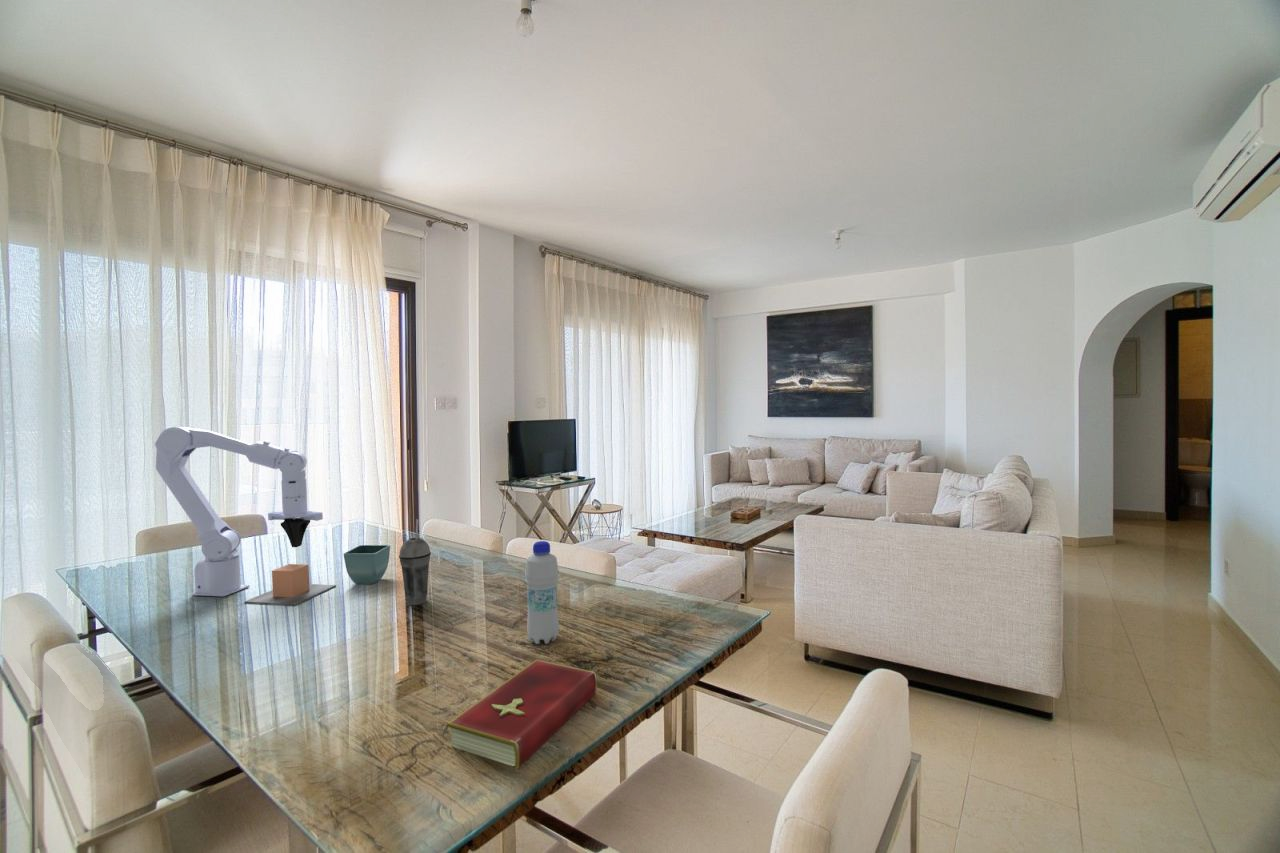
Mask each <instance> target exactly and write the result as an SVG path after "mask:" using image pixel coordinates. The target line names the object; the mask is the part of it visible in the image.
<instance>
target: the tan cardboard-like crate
mask: <svg viewBox="0 0 1280 853" xmlns="http://www.w3.org/2000/svg"><path fill="white" fill-rule="evenodd" d="M309 567H310V566H309V564H302V563H301V564H299V563H298V564H296V563H290V564H289V563H288V564H285V565H283V566H281V567H277V568H275V569H272V570H271V580H272V582H271V584H272V590H273V597H295V596H297V595H299V594H302V593H304V592H306V591H308V590H310V588H309V584H310V571H309V570H310V568H309Z"/></svg>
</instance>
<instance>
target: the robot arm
mask: <svg viewBox="0 0 1280 853" xmlns="http://www.w3.org/2000/svg"><path fill="white" fill-rule="evenodd" d="M154 446H155V448H156V458H155V469H156V471H157V473H158V474H159V476H160V477H161V479H162V480H163V481H164V483H165V484H166V487H167V488H168V489H169V491H170V492H171V494H172V495H173V496H174V498H175V499H176V500H177V502H178V504H179V505H180V506H181V508H182V509H183V511H184V512H185V514H186V515H187V517H188V519H190V521H191V523H192V524H193V525H194V527H195V529H196V530H197V539H198V541H199V542H200V543H201V544H200V545H201V553H202V554H203V556H204V557H203V558H201V559H199V561H197V563H196V564H195V566H194V572H193V573H194V589H195V590H194V592H192V594H191V595H192V596H203V597H204V596H206V597H226V596H228V595H231V594H234V593H237V592H239V591H242V590H244V589H248V588H249V587H250V584H242V580H241V562H240V561H241V560H240V552H239V551H238V550H237V548H239V546H240V544H241V540H242V539H241V538H242V537H241V535H240V533H239V532H238V531H237V530H235V529H233V528H231V526H229V525H228V523H227V522H225V521H224V520H223V519H221V518H220V517H219V515H218V514H217V512H216V511H215V509H214V508H213V506H212V505H211V503H210V501H209V500H208V499H207V497H206V495H205V494H204V492H203V491H202V490H201V488H200V487H199V485H198V484H197V482H196V481H195V480H194V477H192V475H191V473H190V472H189V470H188V469H187V468H186V464H187V462H188V460H189V458H190V456H191V454H192V453H193V452H194V451H195V450H196V449H200V448H206V447H212V448H215V449H218V450H219V449H220V450H222V451H227V452H231V453H235V454H239V455H242V456H245V457H246V458H247V459H248V462H249V463H253V464H256V465H260V466H262V467H265V468H271V469H274V470H279V471H280V472H281V503H282V504H281V505H282V511H271V512H268V513H267V518H268V519H267V520H268V521H277V520H279V521H283V522H280V527H281V528H282V529H283V530H284V532H285V533H286V535H287V537H288V540H289V542H290V546H291V548H298V547H300V546H301V547H302V544H303V540H304V536H305V534H306V533H305V532H306V531H307V529H308V527H309V525H310V523H311V521H315V522H316V521H317V522H318V521H321V520H323V519H324V517H323V512H322V511H321V512H320V511H312V510H308V492H307V491H308V490H307V478H306V475H307V474H306V469H305V468H306V466H307V461H308V460H307V458H306V456H305V455H304V454H303V453H301V452H299V451H297V450H292V451H290V448H288V447H285V448H283V447H279V446H275V445H273V444H271V442H270V441H267V440H264V441H263V442H262V441H256V442H254V443H250V442H249V443H248V442H246V441H243V440H239V439H236V438H234V437H230V436H228V435H224V434H222V433H219V432H215V431H213V430H208V429H204V428H200V427H199V428H196V427H193V426H189V425H185V426H184V425H183V426H179V427H177V426H176V427H175V426H174V427H173V426H172V427H167V428H166V429H164V430H163V431H162V432H161V433H160V434H159V436H158V437H157V439H156V441H155V442H154Z"/></svg>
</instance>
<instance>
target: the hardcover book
mask: <svg viewBox="0 0 1280 853" xmlns="http://www.w3.org/2000/svg"><path fill="white" fill-rule="evenodd" d="M597 692H598V678H597V674H596V672H595V671H593V670H587V669H584V668H579V667H574V666H569V665H564V664H560V663H555V662H551V661H546V660H543V659H542V660H541V659H535V660H533V661H532V662H531V663H529V664H528V665H526V666H525V667H523V668H522V669H521V670H519V671H518V672H516V673H515V674H514V675H513V676H511V677H510V678H508V679H507V680H505V681H504V682H502V683H501V684H500V685H499V686H497V687H496V688H494V689H492V690H491V691H490V692H489V693H487V694H486V695H485V696H483V697H482V698H480V699H479V700H478V701H476V702H475V703H474V704H471V706H469V707H468V708H466V709H465V710H464V711H462V712H461V713H460V714H458V715H457V716H455V717H454V718H452V719H451V720H449V721H448V722H447V723H446V727H448V728H450V730H451V732H450V734H451V735H450V736H451V747H452V748H455V749H456V750H457V749H458V750H461V751H463V752H466V753H470V754H473V755H475V756H480V757H483V758H485V759H489V760H491V761H496V762H498V763H500V764H504V765H507V766H510V765H511V766H510V767H513V766H515V767H514V770H515V769H516V771H518V770H519V769H520V768H521V767H522V766H523V765H524V764H525V763H526V762H527V761H528V760H529V759H530V758H531V757H532V756H533V755H534V754H535V753H536V752H538V751H539V749H540V748H541V747H543V745H544V744H546V743H547V742H548V741H549V740H550V739H551V738H552V737H553V736H554V735H555V734H556V733H557V732H558V731H559V730H560V729H561V728H563V726H564V725H565V724H567V723H568V721H569V720H570V719H571V718H572V717H574V716H575V714H577V713H578V712H579V711H580V710H581V708H583V707H584V706H585V705H586V704H587V703H588V702H589V701H590V700H591V699H592V698H593V697H594V696H596V694H597ZM522 764H523V765H522ZM520 766H521V767H520ZM519 767H520V768H519ZM518 768H519V769H518Z"/></svg>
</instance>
